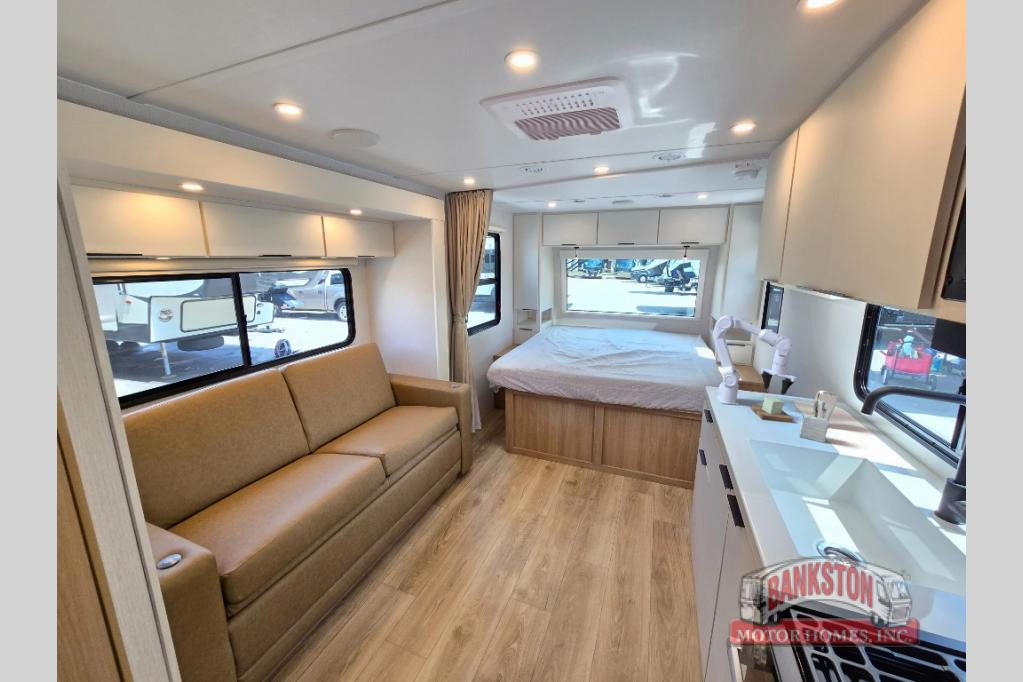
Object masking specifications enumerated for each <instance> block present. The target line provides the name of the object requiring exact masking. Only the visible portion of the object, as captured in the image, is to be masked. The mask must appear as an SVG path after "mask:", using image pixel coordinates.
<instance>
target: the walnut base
mask: <svg viewBox="0 0 1023 682" xmlns="http://www.w3.org/2000/svg"><path fill="white" fill-rule="evenodd" d="M762 407H763V405H753V404H751V407H750V410H751V411H752V412H753V413H754V414H755V415H757V416H758V417H759V418H760V419H761V420H763V421H772V422H779V423H780V422H781V423H789V422H790V423H792V424H793V421H794V418H793V417H792V416H791V415H790V414H788V413H787V412H786V411H785V410H783V409H782V410H781V414H770V413H768V412H766V411H764V410H762Z"/></svg>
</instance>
